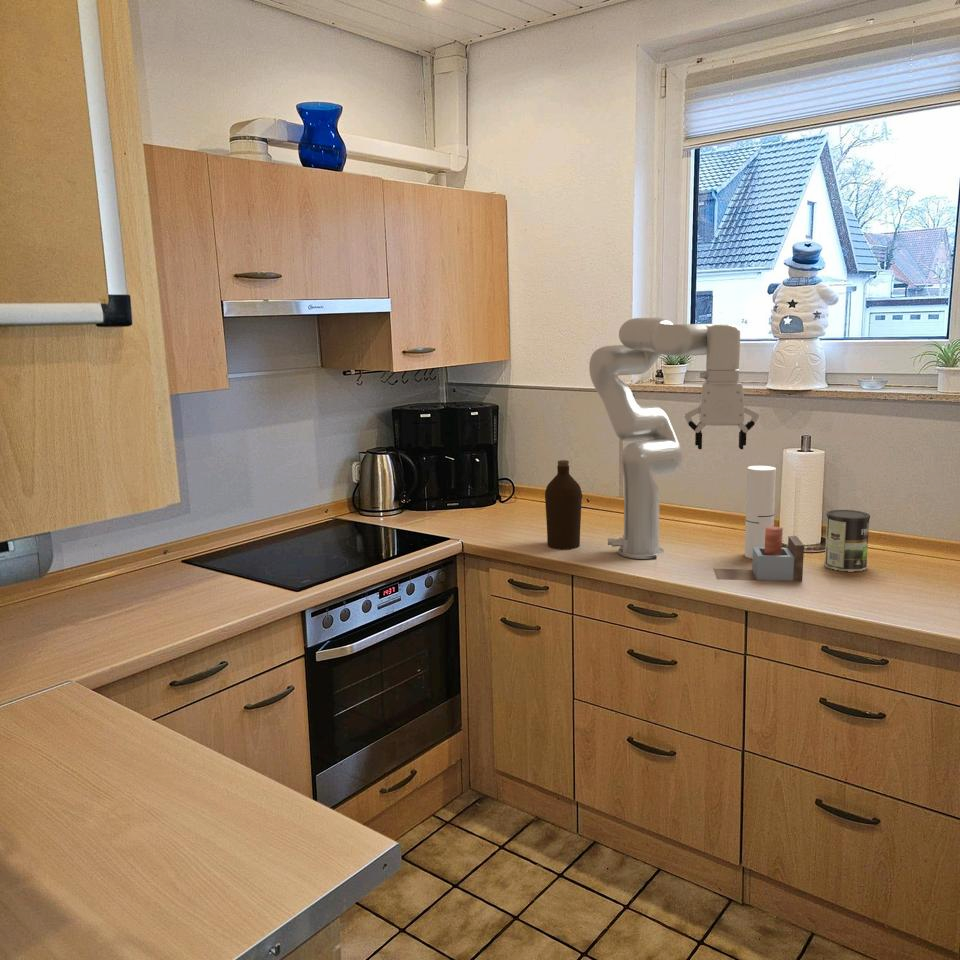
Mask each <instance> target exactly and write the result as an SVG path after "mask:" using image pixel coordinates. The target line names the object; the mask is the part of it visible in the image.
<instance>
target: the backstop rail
mask: <svg viewBox="0 0 960 960" xmlns="http://www.w3.org/2000/svg"><path fill="white" fill-rule="evenodd" d="M787 538H788V539H787V540H788V541H787V548H789V550H790V551H791V553H792V554H793V555H794V557H795V559H794V580H793V581H792V582H798V583H799V582H801V583H802V582H803V575H804V572H803V571H804V556H805V555H804V554H805V553H804V552H805V545H804V544H803V542H802V541H801V540H800V538H799V537H798V536H797V535H788V536H787ZM713 571H714V574H715V577H716V580H725V581H726V580H730V581H731V580H733V581H758V580H757V579H756V577H755V575H754V573H753V571H752V569H747V568H746V569H744V568H743V569H742V568H741V569H740V568H739V569H738V568H737V569H736V568H733V569H732V568H713ZM762 581H769V582H781V581H780V580H761V582H762Z"/></svg>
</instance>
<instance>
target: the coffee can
mask: <svg viewBox="0 0 960 960" xmlns="http://www.w3.org/2000/svg"><path fill="white" fill-rule="evenodd" d="M870 519H871V514H869V513H867V512H864V511H860V510H853V509H834V510H833V509H832V510H829V511H826V531H825V549H824V550H825V551H824V563H823V564H824V567H825V568H827V567H828V568H827V569H829V568H830V570H832V569H834V570H833V571H837V570H839V571H838V572H844V571H848V572H847V573H855V572H854V571H860V572H863V570H864V571H866V570H867V568H868V567H867V564H868V548H869V547H868V545H869V531H870Z"/></svg>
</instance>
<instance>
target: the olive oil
mask: <svg viewBox="0 0 960 960" xmlns="http://www.w3.org/2000/svg"><path fill="white" fill-rule="evenodd" d="M556 468H557V473H556V475H555V476H554V478H553V479H551V480H550V482H549V483H548V484H547V486H546V487H545V492H544V500H545V502H544V504H545V518H546V519H545V520H546V538H547V540H546V541H547V543H546V545H547V546H548V547H549V548H550V547H551V548H550V549H554V548H555V550H573V549H572V548H574V549H576V548H579V547H580V546H581V523H582V522H581V521H582V520H581V519H582V517H581V516H582V500H583V493H582V489H581V486H580V484H579V483H578V482H577V480H575V479H574V478H573V476H572V475H571V474H570V462H569V460H565V459H561V460H558V461H557V466H556Z"/></svg>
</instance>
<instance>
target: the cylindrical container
mask: <svg viewBox="0 0 960 960" xmlns="http://www.w3.org/2000/svg"><path fill="white" fill-rule="evenodd" d="M776 474H777V468H776V467H775V466H770V465H750V466H748V467H747V474H746V476H747V477H746V500H745V501H746V502H745V504H746V505H745V527H744V528H745V529H744V531H745V532H744V557H746V558H747V559H752V560H753V547H765V528H766V527H770V526H774V525H775V523H774V522H775V500H776V499H775V497H776V480H777V479H776ZM774 527H775V526H774Z"/></svg>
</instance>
